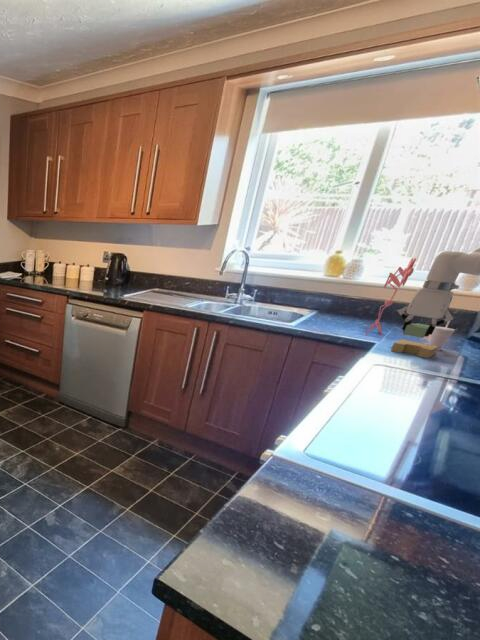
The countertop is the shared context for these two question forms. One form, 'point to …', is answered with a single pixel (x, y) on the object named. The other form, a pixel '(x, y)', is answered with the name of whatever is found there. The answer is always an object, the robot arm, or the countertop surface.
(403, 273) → the figurine
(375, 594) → the countertop surface
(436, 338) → the smoothie
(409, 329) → the green pad
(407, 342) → the sand pad
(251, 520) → the countertop surface
